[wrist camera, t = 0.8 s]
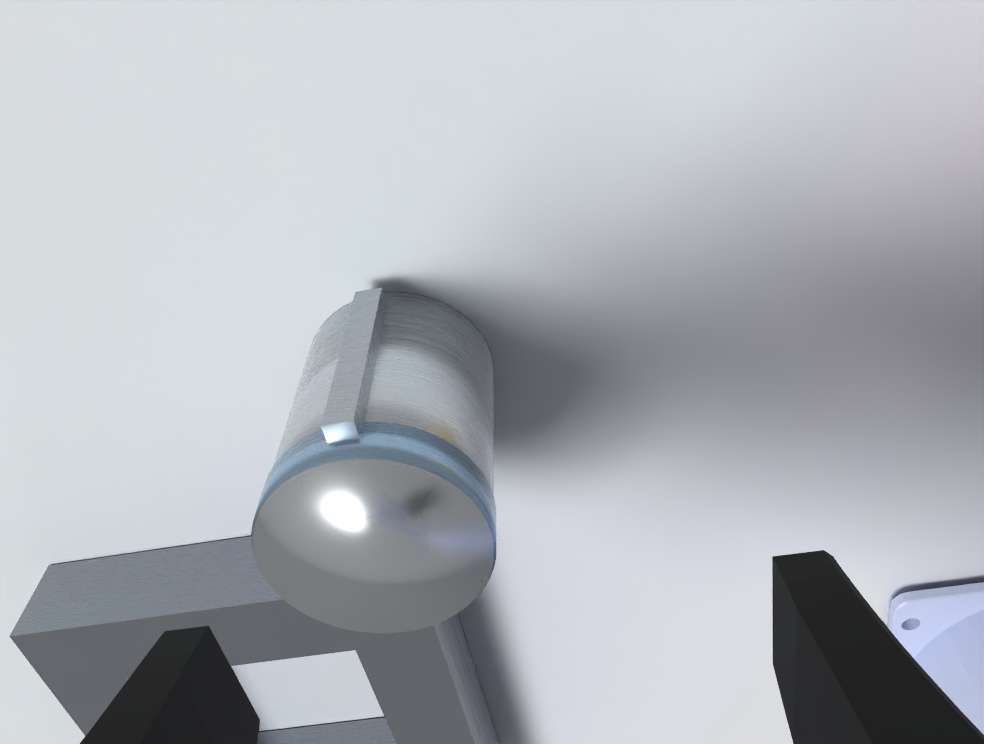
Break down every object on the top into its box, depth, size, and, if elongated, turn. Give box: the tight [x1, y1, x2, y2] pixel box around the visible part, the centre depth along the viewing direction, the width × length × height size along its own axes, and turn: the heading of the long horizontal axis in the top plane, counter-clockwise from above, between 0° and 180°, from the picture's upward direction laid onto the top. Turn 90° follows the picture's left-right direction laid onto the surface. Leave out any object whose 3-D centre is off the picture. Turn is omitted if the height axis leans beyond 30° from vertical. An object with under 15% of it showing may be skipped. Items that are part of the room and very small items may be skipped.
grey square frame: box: [10, 536, 500, 744], centre depth 27 cm, size 11×11×2 cm
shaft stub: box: [251, 288, 496, 633], centre depth 19 cm, size 5×5×6 cm
